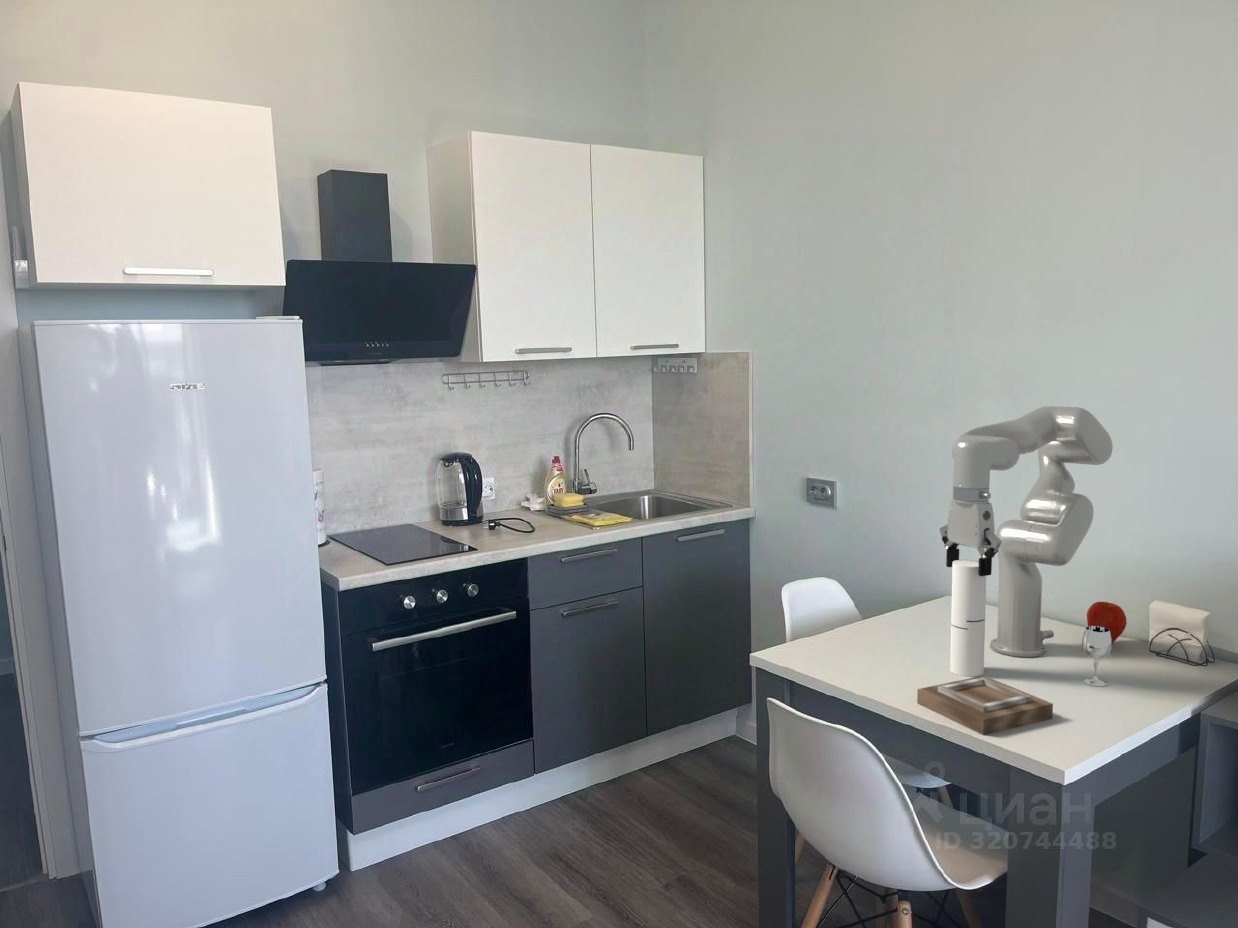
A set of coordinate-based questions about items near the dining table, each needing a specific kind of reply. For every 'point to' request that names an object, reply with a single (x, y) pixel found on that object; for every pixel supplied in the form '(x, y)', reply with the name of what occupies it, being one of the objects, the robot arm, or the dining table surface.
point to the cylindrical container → (967, 619)
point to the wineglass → (1096, 648)
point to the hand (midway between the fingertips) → (968, 570)
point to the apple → (1107, 618)
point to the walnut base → (984, 704)
